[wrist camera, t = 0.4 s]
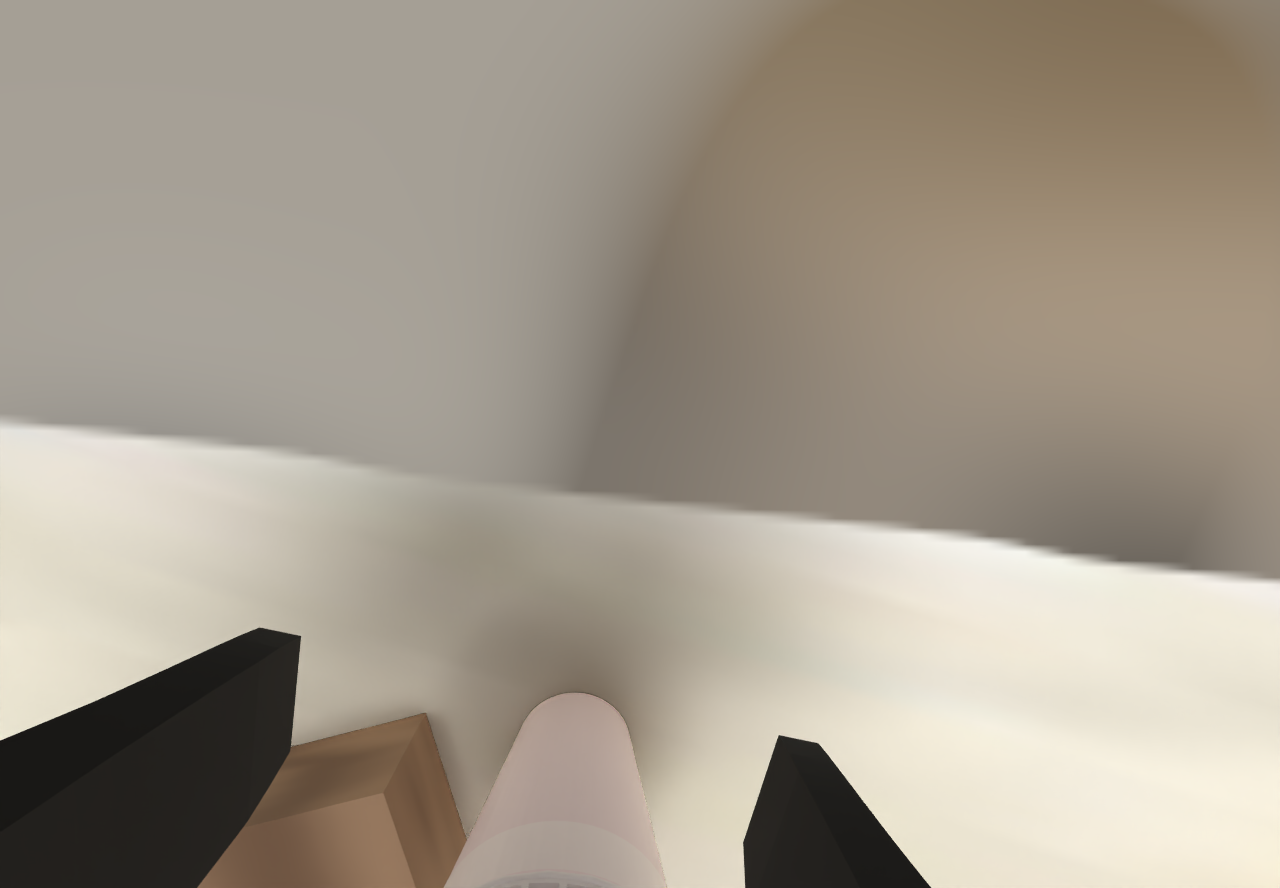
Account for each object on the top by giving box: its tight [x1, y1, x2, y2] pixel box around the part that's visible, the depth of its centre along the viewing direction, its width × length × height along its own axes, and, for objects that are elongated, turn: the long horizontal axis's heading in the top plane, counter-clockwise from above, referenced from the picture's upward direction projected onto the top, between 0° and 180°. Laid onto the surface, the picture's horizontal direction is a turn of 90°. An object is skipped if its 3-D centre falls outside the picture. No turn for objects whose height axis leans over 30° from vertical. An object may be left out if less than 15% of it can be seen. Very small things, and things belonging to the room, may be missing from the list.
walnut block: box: [197, 713, 467, 888], centre depth 19 cm, size 7×7×4 cm
